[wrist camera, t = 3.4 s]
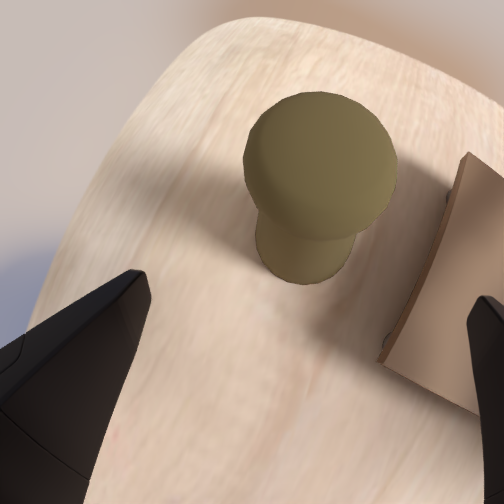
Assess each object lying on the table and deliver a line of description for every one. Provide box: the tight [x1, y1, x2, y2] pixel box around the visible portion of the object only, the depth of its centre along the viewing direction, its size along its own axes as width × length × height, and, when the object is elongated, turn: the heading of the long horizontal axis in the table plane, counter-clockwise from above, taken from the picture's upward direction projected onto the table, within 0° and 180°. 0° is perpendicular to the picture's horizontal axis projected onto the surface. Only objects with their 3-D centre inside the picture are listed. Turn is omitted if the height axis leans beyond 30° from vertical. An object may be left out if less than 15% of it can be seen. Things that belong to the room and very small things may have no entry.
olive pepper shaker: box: [243, 91, 397, 285], centre depth 14 cm, size 6×6×11 cm
